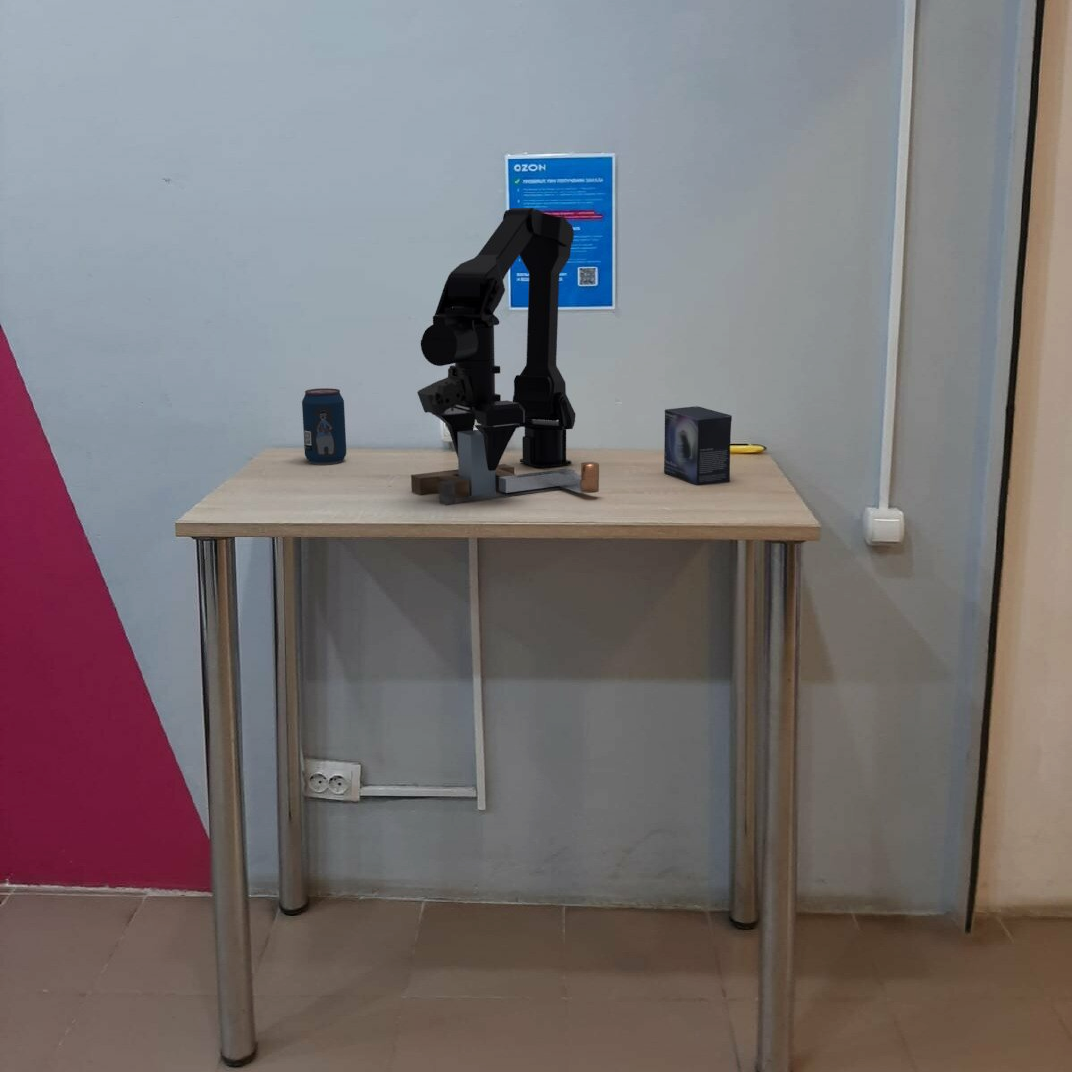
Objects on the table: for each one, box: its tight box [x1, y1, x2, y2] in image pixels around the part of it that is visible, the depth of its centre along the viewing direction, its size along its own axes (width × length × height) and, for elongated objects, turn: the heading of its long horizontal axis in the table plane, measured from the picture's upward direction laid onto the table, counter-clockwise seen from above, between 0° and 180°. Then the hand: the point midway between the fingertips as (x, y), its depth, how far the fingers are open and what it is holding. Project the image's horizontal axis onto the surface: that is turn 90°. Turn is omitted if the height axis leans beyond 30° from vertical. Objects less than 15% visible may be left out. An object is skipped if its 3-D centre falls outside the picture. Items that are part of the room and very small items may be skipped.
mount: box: [410, 463, 567, 506], centre depth 175 cm, size 22×11×3 cm, turn 121°
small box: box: [663, 405, 733, 486], centre depth 182 cm, size 11×6×10 cm, turn 23°
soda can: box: [301, 387, 347, 465], centre depth 196 cm, size 7×7×12 cm
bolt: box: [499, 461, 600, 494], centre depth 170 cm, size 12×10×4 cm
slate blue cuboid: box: [457, 429, 497, 496], centre depth 173 cm, size 4×4×9 cm
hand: (476, 465), depth 173 cm, fingers open, 9 cm apart
